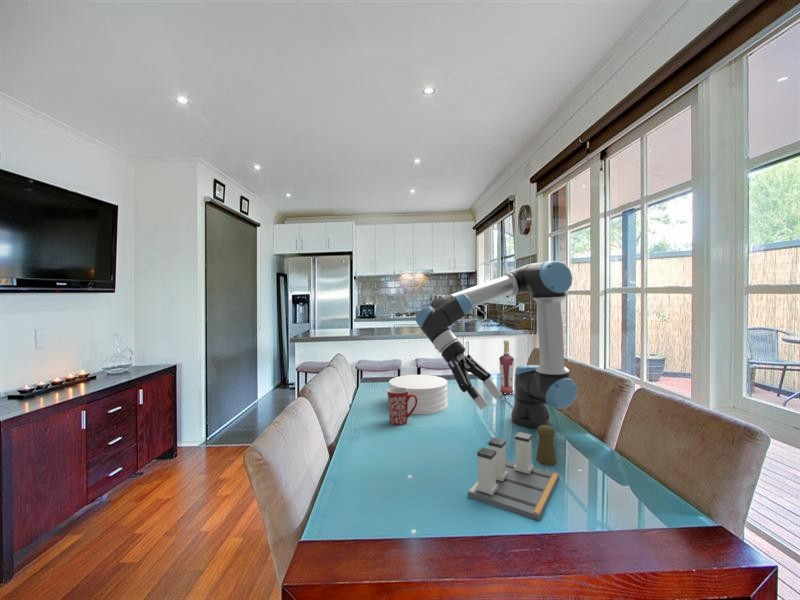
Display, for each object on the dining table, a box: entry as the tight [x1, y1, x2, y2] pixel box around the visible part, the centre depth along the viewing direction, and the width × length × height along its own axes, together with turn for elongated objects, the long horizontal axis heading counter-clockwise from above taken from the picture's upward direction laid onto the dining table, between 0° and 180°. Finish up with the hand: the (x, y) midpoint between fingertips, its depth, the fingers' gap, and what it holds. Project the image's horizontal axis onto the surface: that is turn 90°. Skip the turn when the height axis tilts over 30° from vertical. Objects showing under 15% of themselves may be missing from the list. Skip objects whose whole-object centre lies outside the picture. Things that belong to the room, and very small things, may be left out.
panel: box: [467, 459, 560, 522], centre depth 97 cm, size 18×23×1 cm
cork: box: [535, 425, 557, 467], centre depth 112 cm, size 6×6×11 cm
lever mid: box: [487, 436, 508, 481], centre depth 100 cm, size 4×4×10 cm
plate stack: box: [388, 374, 449, 415], centre depth 171 cm, size 28×28×12 cm
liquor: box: [498, 340, 515, 395], centre depth 188 cm, size 7×7×28 cm
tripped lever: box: [514, 431, 534, 474], centre depth 104 cm, size 4×4×10 cm
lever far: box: [476, 447, 498, 495], centre depth 93 cm, size 4×4×10 cm
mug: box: [386, 387, 417, 426], centre depth 147 cm, size 13×9×14 cm
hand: (492, 401), depth 109 cm, fingers open, 13 cm apart
